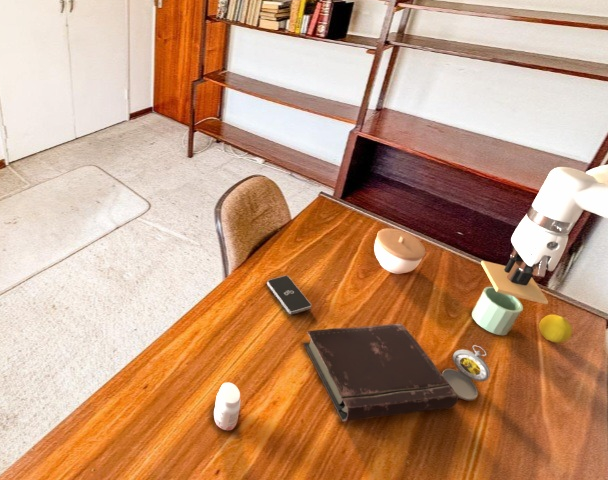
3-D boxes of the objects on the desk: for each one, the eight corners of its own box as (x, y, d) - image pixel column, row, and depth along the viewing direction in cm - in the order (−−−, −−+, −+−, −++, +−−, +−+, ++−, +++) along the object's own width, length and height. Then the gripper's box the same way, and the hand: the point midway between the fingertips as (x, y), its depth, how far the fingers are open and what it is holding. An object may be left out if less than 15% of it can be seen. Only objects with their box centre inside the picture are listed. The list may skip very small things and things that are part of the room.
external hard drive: (286, 280, 114) (287, 274, 113) (311, 311, 105) (312, 306, 104) (265, 285, 112) (266, 280, 111) (289, 318, 103) (291, 312, 102)
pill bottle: (237, 408, 82) (242, 383, 79) (236, 434, 78) (242, 408, 74) (214, 402, 83) (218, 377, 80) (212, 427, 79) (217, 402, 75)
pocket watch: (445, 395, 87) (462, 365, 82) (434, 360, 94) (450, 331, 90) (489, 409, 84) (509, 380, 80) (475, 373, 91) (492, 344, 87)
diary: (453, 412, 83) (461, 397, 81) (343, 426, 80) (350, 411, 78) (393, 332, 100) (399, 318, 98) (301, 341, 97) (305, 327, 95)
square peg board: (526, 274, 101) (537, 256, 98) (546, 304, 92) (559, 286, 90) (480, 263, 104) (489, 245, 101) (496, 292, 95) (506, 273, 93)
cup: (501, 314, 106) (514, 291, 103) (514, 339, 100) (529, 316, 96) (467, 305, 109) (479, 283, 105) (477, 329, 102) (491, 306, 98)
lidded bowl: (366, 268, 120) (376, 239, 115) (372, 244, 129) (382, 217, 125) (414, 288, 113) (426, 259, 109) (416, 261, 123) (428, 234, 118)
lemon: (562, 339, 100) (577, 317, 97) (562, 354, 96) (578, 332, 93) (533, 325, 104) (547, 304, 100) (532, 339, 100) (547, 317, 96)
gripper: (592, 246, 82) (550, 309, 89) (551, 202, 96) (517, 259, 103) (548, 237, 84) (511, 298, 92) (513, 195, 98) (484, 251, 106)
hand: (515, 277), depth 97 cm, fingers closed on square peg board, 2 cm apart
